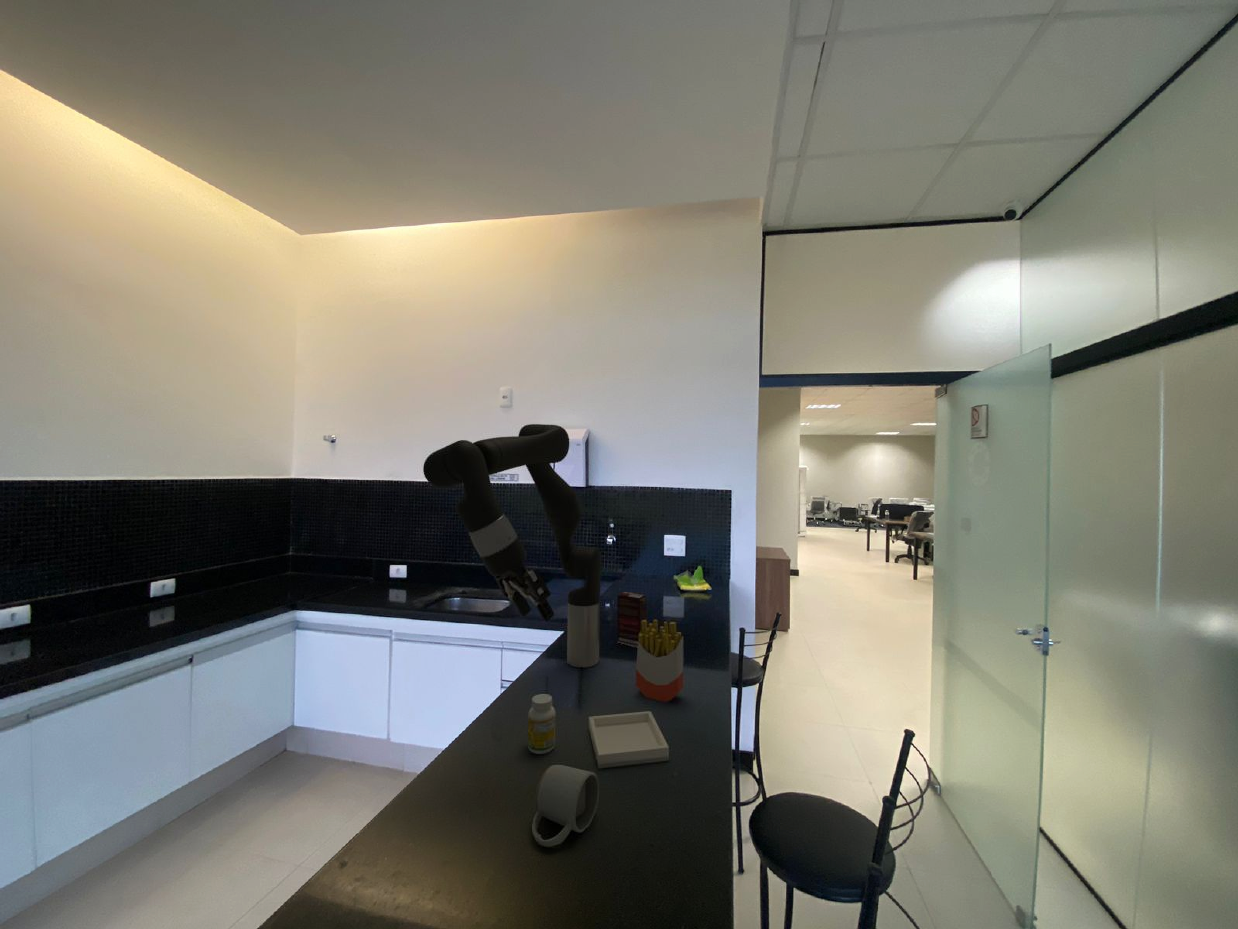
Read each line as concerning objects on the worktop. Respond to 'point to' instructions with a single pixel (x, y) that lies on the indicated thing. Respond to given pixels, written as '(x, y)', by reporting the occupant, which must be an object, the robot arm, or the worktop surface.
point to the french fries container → (659, 661)
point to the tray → (627, 739)
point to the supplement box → (630, 617)
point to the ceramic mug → (565, 800)
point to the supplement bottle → (541, 725)
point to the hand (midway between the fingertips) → (537, 615)
